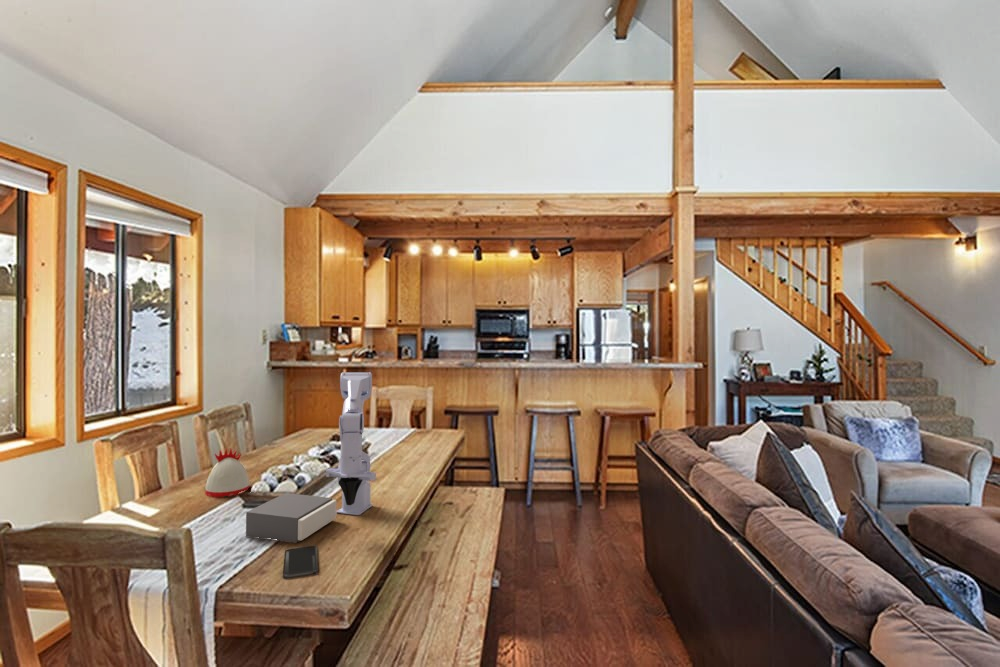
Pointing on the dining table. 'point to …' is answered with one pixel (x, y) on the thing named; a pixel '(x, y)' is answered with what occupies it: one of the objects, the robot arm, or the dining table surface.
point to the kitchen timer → (227, 476)
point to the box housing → (281, 516)
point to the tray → (316, 519)
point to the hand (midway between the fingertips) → (350, 503)
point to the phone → (300, 562)
